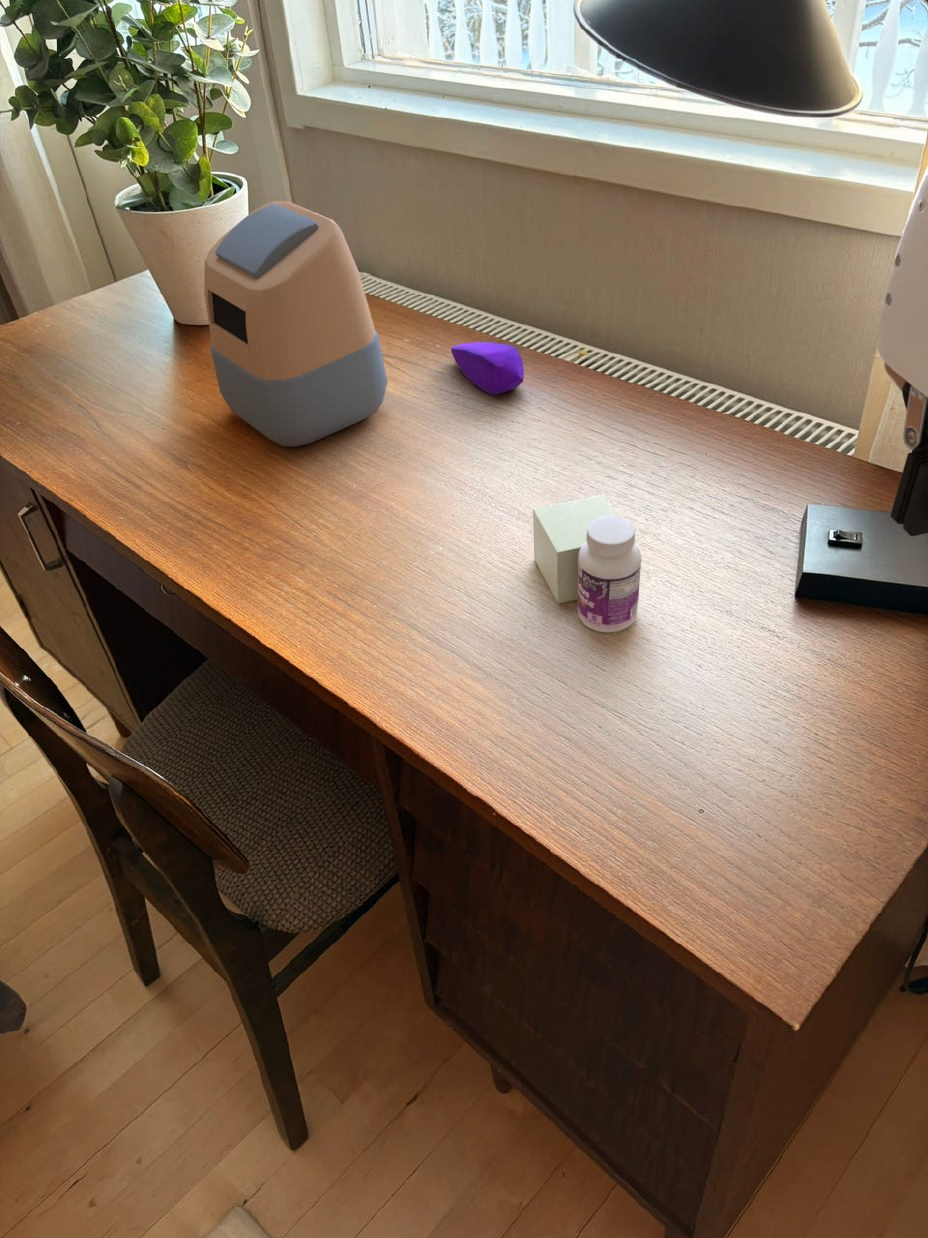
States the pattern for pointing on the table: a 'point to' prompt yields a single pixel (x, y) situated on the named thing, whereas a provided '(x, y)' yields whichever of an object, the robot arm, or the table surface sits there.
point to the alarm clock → (292, 326)
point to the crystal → (490, 365)
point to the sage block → (565, 541)
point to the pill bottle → (609, 575)
